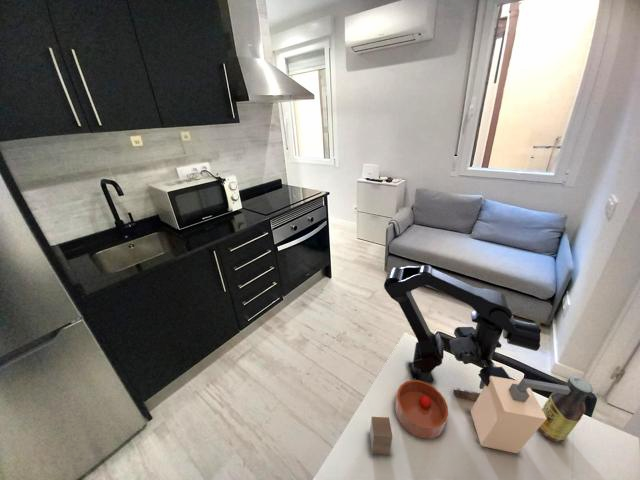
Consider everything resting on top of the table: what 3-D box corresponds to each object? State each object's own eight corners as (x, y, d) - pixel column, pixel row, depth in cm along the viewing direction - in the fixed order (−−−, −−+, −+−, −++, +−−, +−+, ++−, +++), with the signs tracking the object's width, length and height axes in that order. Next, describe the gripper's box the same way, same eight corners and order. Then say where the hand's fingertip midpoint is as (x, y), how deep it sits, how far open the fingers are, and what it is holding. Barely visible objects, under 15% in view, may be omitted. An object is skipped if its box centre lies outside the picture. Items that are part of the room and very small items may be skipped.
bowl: (391, 389, 80) (393, 379, 77) (435, 391, 79) (438, 380, 77) (400, 437, 68) (403, 426, 66) (452, 440, 67) (456, 429, 65)
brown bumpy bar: (485, 402, 74) (482, 402, 76) (484, 393, 75) (481, 393, 77) (454, 395, 76) (452, 395, 78) (454, 387, 77) (452, 387, 79)
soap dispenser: (480, 446, 65) (514, 396, 54) (470, 410, 73) (498, 360, 62) (536, 457, 63) (582, 408, 53) (519, 420, 71) (557, 370, 60)
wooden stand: (369, 434, 69) (371, 416, 65) (386, 435, 68) (389, 417, 65) (371, 453, 65) (373, 435, 61) (389, 455, 64) (392, 436, 61)
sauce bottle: (533, 413, 72) (559, 365, 64) (561, 425, 69) (594, 376, 61) (536, 436, 67) (565, 386, 59) (567, 450, 64) (603, 400, 56)
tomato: (416, 404, 75) (425, 413, 72) (417, 395, 74) (426, 404, 71) (424, 399, 76) (433, 407, 74) (424, 390, 76) (434, 398, 73)
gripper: (442, 312, 78) (433, 349, 85) (475, 365, 61) (461, 406, 68) (478, 311, 78) (467, 348, 85) (522, 365, 61) (503, 405, 68)
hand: (473, 374), depth 76 cm, fingers open, 9 cm apart
